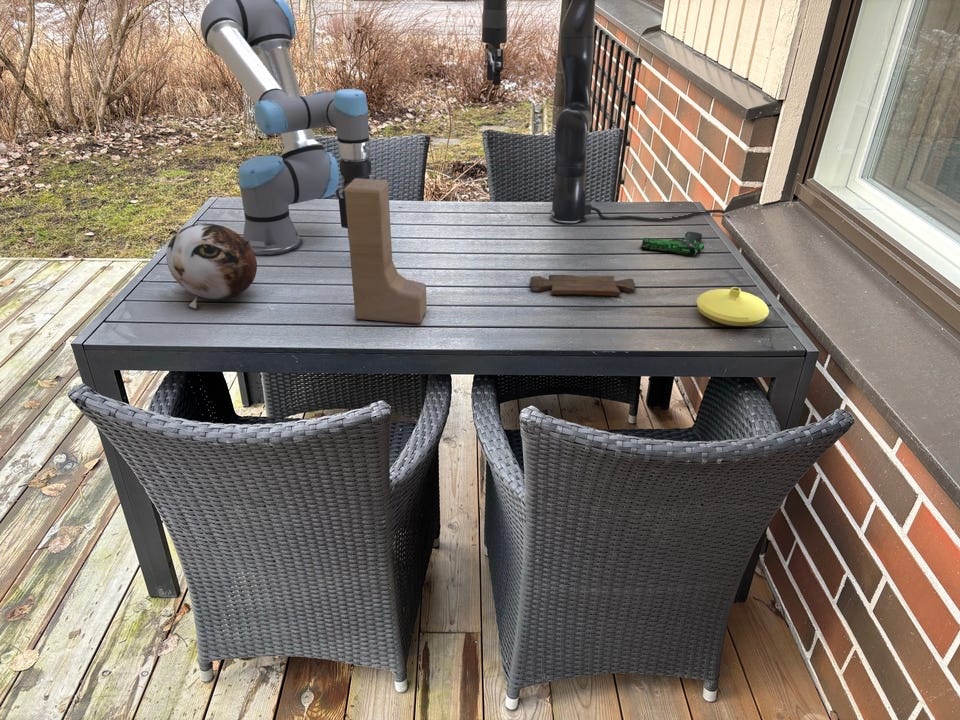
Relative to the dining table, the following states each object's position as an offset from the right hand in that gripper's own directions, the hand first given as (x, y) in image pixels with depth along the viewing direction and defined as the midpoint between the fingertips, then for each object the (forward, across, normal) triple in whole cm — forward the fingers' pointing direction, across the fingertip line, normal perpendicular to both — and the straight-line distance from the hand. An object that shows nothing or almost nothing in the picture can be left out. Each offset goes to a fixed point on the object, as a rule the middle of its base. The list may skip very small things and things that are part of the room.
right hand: (493, 82), depth 222 cm
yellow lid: (+35, +99, +34) cm, 110 cm away
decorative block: (+35, +84, -42) cm, 100 cm away
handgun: (+35, +56, +40) cm, 77 cm away
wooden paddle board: (+35, +78, +6) cm, 85 cm away
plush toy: (+35, +67, -81) cm, 111 cm away
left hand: (+31, +53, -46) cm, 77 cm away
